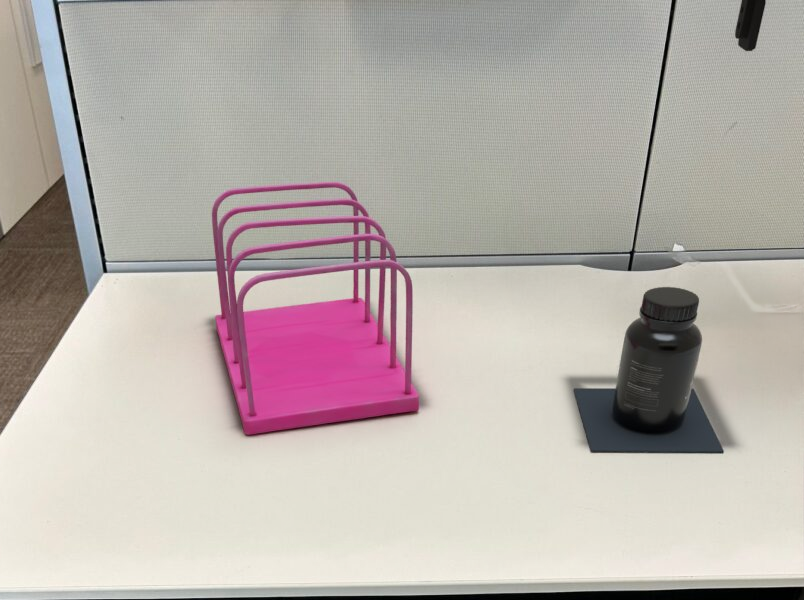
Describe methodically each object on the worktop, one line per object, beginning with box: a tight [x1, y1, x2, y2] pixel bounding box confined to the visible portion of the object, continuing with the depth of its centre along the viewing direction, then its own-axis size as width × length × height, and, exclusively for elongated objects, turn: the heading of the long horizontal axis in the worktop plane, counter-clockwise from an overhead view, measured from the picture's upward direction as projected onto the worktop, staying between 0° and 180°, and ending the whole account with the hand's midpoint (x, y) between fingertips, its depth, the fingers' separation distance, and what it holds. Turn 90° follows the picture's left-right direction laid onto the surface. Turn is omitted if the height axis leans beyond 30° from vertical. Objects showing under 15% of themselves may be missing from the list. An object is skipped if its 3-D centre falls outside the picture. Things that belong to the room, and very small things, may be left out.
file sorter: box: [211, 181, 420, 435], centre depth 94 cm, size 17×25×16 cm
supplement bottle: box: [612, 286, 703, 433], centre depth 86 cm, size 7×7×12 cm
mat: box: [573, 387, 725, 454], centre depth 89 cm, size 12×12×1 cm
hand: (800, 47), depth 83 cm, fingers open, 9 cm apart
